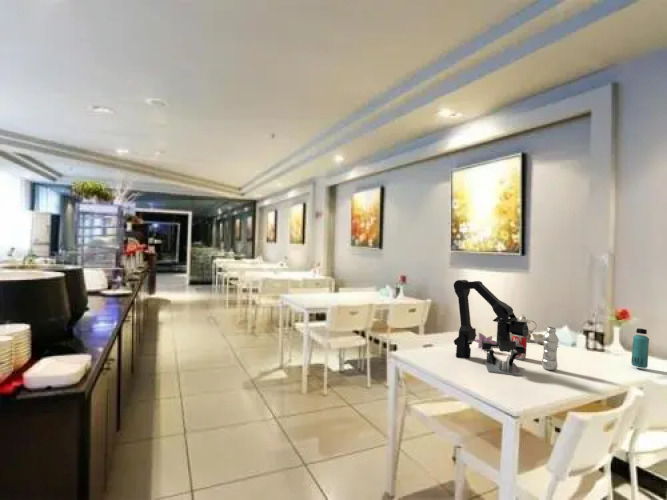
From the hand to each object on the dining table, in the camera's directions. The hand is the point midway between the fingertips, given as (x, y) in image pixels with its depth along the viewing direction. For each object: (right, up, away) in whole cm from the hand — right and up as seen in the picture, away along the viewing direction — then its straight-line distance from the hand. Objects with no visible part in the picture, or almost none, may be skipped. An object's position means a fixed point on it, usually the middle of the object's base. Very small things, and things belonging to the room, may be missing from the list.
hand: (501, 365), depth 181 cm
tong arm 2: (+3, -1, 0) cm, 4 cm away
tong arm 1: (-3, 0, +2) cm, 4 cm away
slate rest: (0, -1, 0) cm, 1 cm away
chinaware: (+37, -2, +55) cm, 67 cm away
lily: (+4, -1, +29) cm, 30 cm away
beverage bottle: (+72, -5, +8) cm, 72 cm away
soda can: (+16, -2, +17) cm, 24 cm away
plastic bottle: (+23, -3, +1) cm, 23 cm away
